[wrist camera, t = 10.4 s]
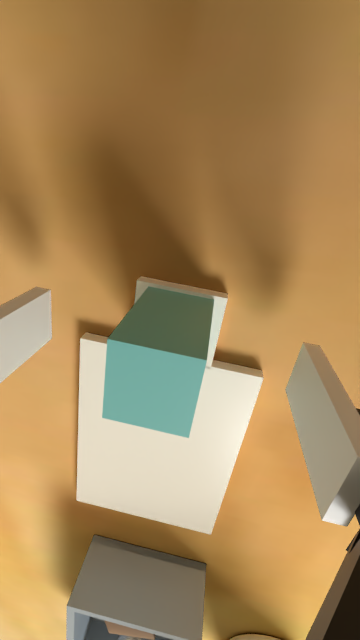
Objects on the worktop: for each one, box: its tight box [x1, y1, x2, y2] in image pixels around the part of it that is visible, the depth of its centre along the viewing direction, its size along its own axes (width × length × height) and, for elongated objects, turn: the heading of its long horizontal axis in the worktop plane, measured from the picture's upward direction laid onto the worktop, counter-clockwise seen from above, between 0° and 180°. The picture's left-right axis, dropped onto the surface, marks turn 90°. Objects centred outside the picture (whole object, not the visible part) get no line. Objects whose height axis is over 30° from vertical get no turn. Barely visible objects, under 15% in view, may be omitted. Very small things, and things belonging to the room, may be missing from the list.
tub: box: [67, 535, 206, 640], centre depth 27 cm, size 14×10×5 cm
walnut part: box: [104, 620, 155, 640], centre depth 26 cm, size 4×4×3 cm
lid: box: [77, 276, 264, 535], centre depth 17 cm, size 19×11×7 cm, turn 171°
